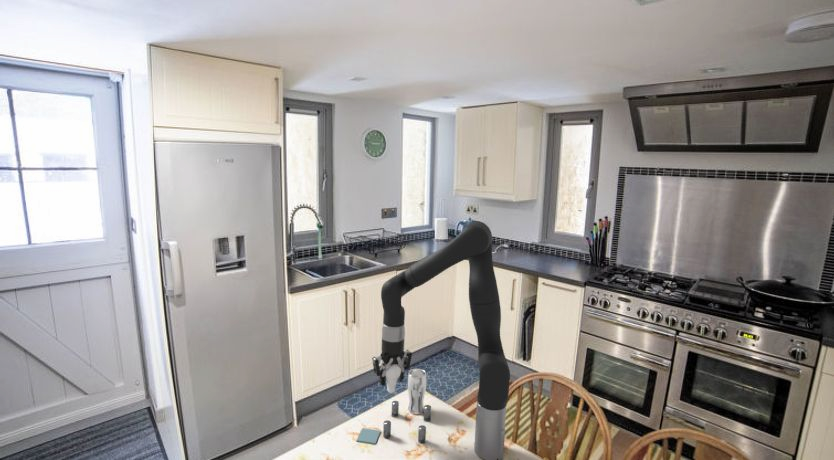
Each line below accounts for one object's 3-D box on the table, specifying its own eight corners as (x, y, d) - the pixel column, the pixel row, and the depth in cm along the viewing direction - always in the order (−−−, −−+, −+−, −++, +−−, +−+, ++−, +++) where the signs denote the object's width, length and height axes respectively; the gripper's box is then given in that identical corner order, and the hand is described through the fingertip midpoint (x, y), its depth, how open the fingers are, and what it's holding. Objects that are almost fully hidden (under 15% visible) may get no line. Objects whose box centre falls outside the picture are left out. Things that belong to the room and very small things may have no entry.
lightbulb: (383, 398, 134) (384, 367, 132) (381, 388, 140) (382, 358, 138) (401, 397, 135) (402, 366, 134) (398, 387, 141) (399, 357, 140)
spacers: (431, 418, 148) (431, 405, 147) (424, 444, 134) (425, 430, 133) (392, 412, 151) (392, 400, 150) (382, 438, 137) (382, 424, 136)
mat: (380, 431, 140) (380, 430, 140) (375, 444, 133) (375, 443, 133) (362, 429, 141) (362, 428, 141) (356, 441, 134) (356, 440, 134)
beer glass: (404, 406, 155) (405, 370, 152) (420, 402, 158) (421, 366, 155) (411, 417, 148) (412, 379, 146) (428, 412, 151) (429, 375, 149)
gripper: (407, 328, 141) (405, 373, 144) (368, 335, 134) (367, 382, 137) (417, 337, 135) (415, 384, 137) (377, 344, 128) (376, 393, 130)
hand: (391, 383), depth 137 cm, fingers closed on lightbulb, 5 cm apart
